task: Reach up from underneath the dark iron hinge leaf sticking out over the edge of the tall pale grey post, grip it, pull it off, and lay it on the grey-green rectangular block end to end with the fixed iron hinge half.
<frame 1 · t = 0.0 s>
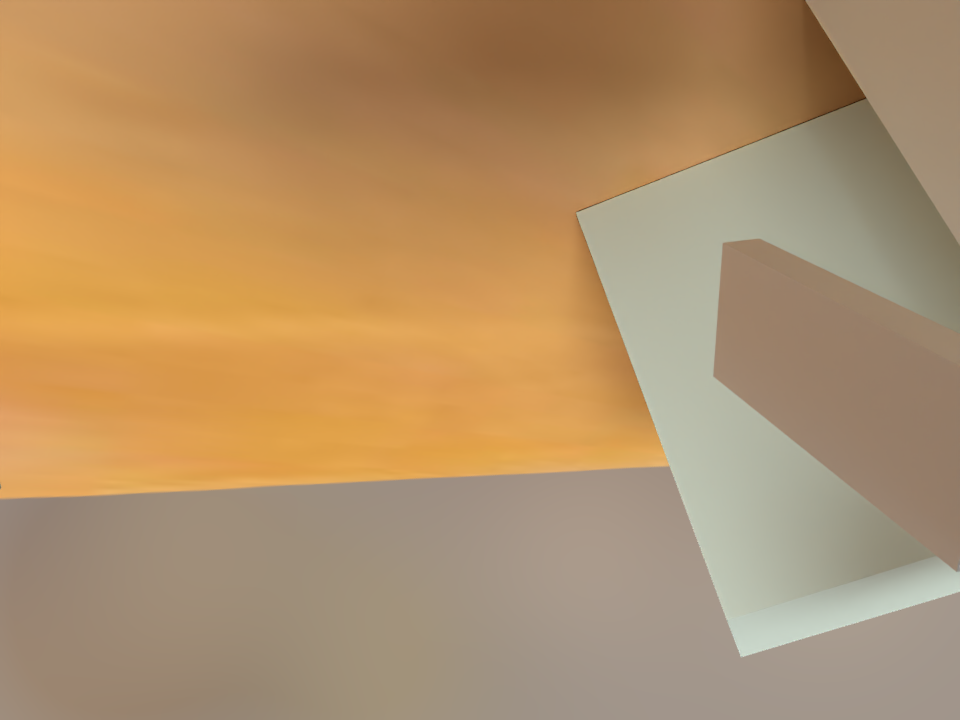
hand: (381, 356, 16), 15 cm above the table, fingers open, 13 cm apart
grey-green rectangular block: (821, 184, 41), on the table
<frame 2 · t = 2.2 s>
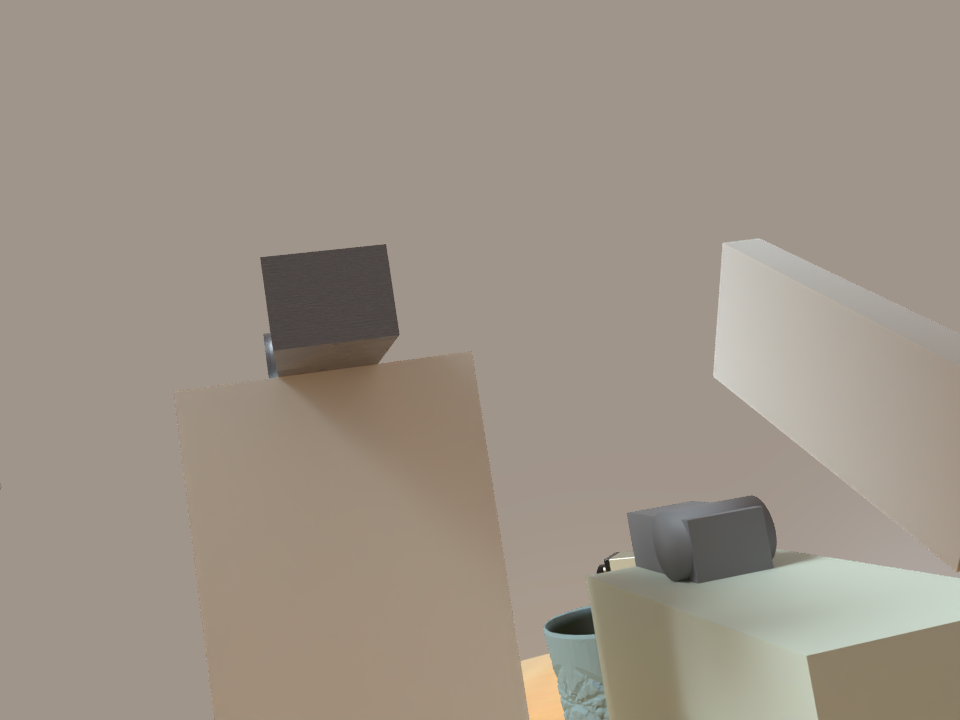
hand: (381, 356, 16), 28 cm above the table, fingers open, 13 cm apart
hinge leaf: (326, 375, 38), point 30 cm above the table, touching grey post
pneumatic valve: (664, 649, 101), on the table
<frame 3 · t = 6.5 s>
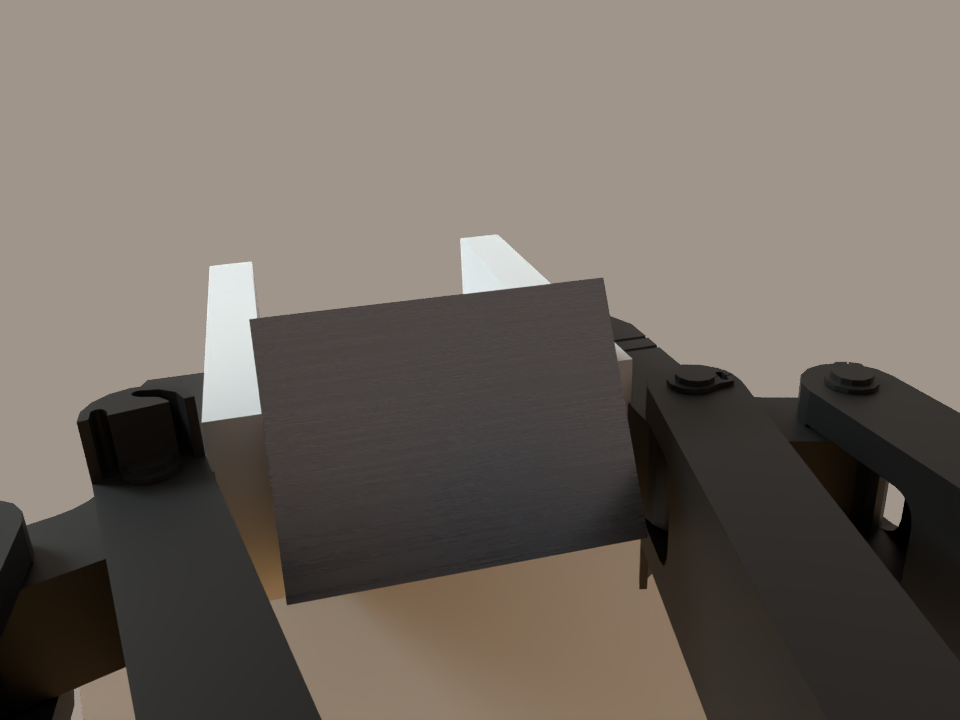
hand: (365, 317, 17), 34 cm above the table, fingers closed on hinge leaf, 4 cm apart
hinge leaf: (385, 524, 19), point 30 cm above the table, touching grey post, gripper
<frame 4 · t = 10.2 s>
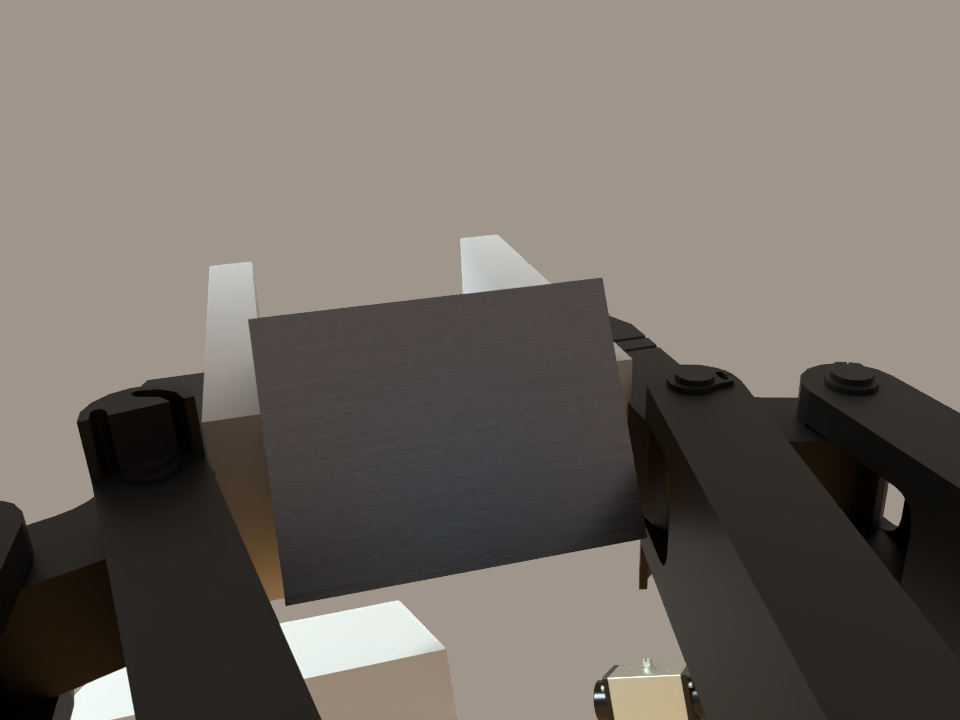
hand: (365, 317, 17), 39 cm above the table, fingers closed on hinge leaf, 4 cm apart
hinge leaf: (383, 525, 19), point 35 cm above the table, touching gripper
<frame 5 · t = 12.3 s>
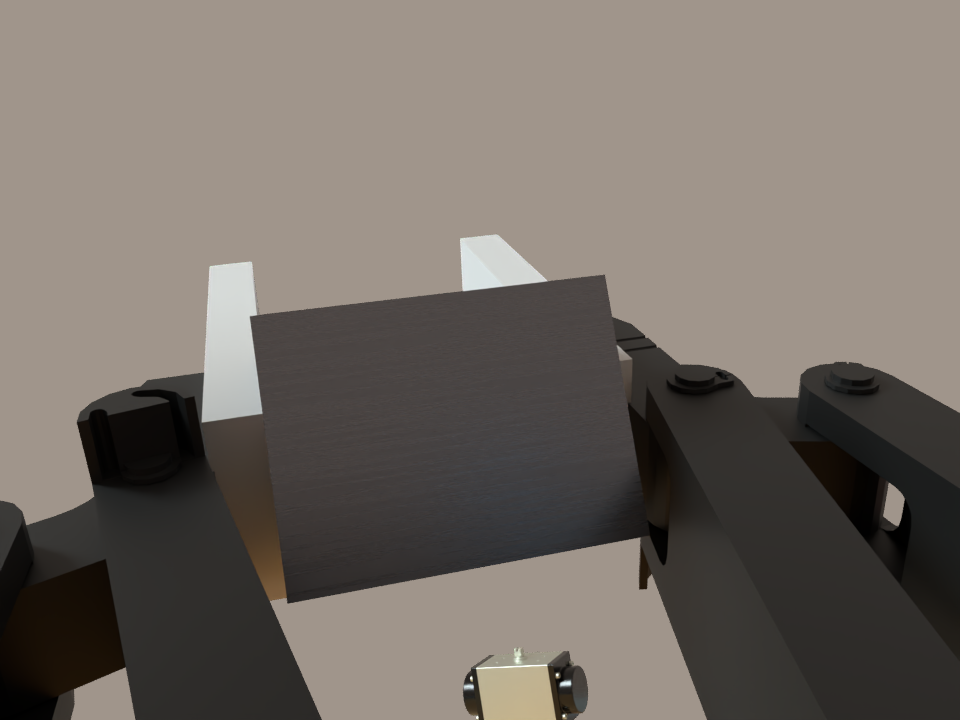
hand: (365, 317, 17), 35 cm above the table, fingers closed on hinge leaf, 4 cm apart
hinge leaf: (384, 523, 19), point 31 cm above the table, touching gripper
when the fingers open (25 cm above the table, at t = 14.2 s): hinge leaf drops 3 cm, resting on grey-green rectangular block.
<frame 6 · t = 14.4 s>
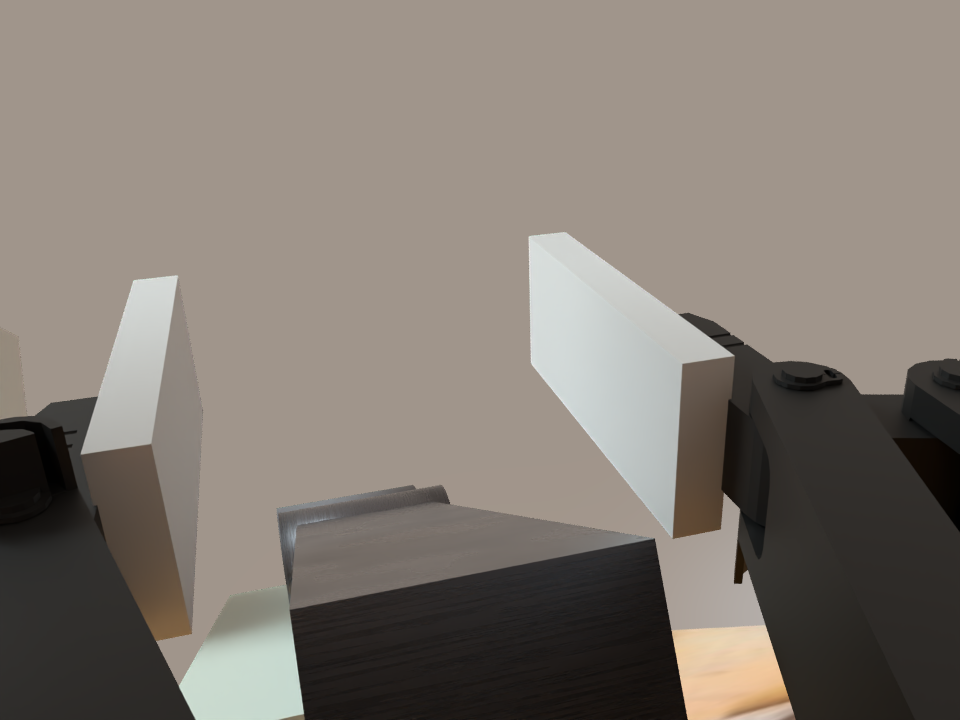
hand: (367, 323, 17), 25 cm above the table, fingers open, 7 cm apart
hinge leaf: (410, 666, 19), point 18 cm above the table, touching grey-green rectangular block
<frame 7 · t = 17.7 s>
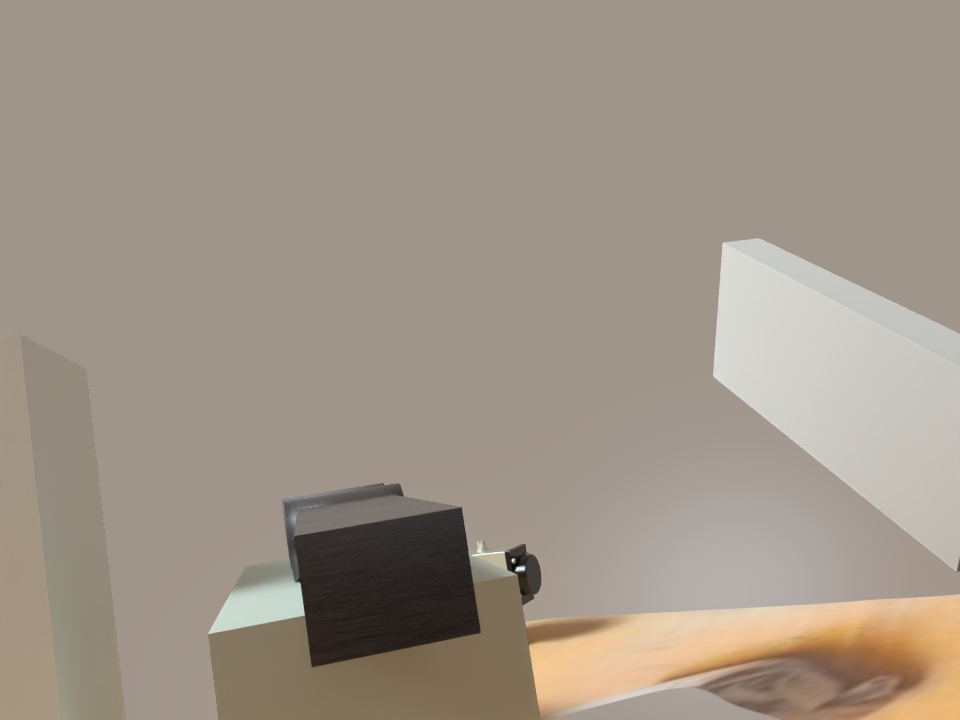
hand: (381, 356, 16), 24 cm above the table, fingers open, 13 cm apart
hinge leaf: (367, 595, 30), point 18 cm above the table, touching grey-green rectangular block
pneumatic valve: (499, 648, 101), on the table
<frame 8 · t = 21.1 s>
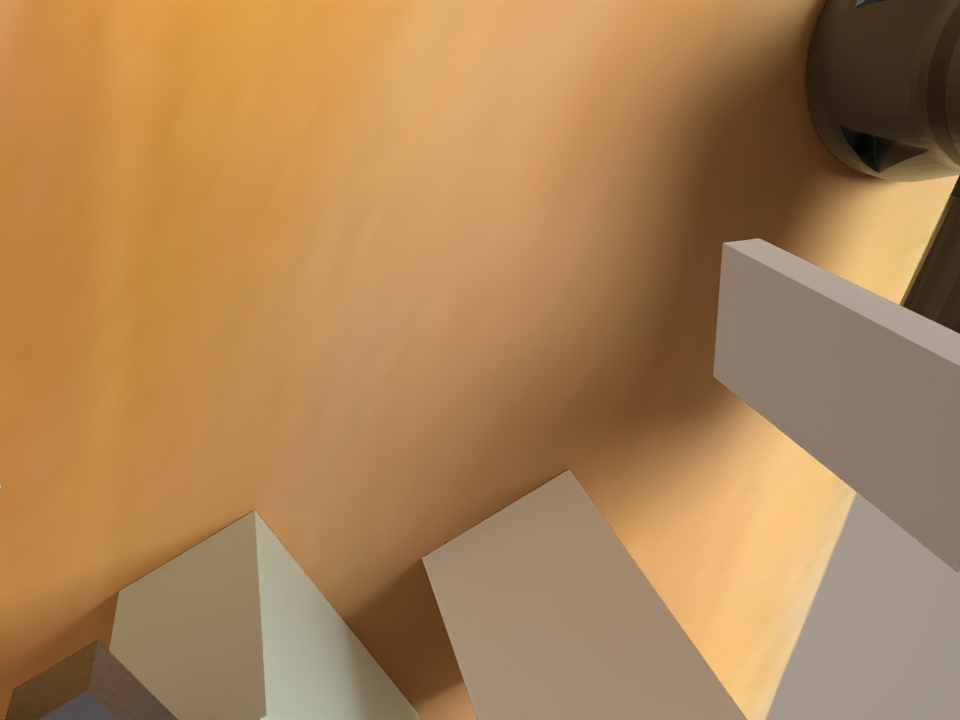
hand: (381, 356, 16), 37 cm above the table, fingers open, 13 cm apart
grey-green rectangular block: (280, 656, 62), on the table
grey post: (531, 570, 65), on the table
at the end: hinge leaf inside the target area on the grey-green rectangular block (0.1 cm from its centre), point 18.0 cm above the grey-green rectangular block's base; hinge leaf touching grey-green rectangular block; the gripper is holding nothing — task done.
